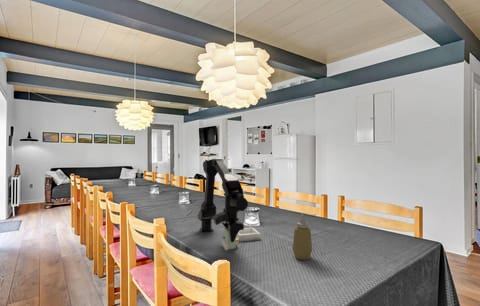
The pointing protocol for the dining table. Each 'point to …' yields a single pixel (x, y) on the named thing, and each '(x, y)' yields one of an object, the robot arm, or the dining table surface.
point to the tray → (248, 234)
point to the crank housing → (225, 244)
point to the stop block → (229, 240)
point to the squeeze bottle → (302, 240)
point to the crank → (236, 239)
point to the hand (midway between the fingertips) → (230, 240)
